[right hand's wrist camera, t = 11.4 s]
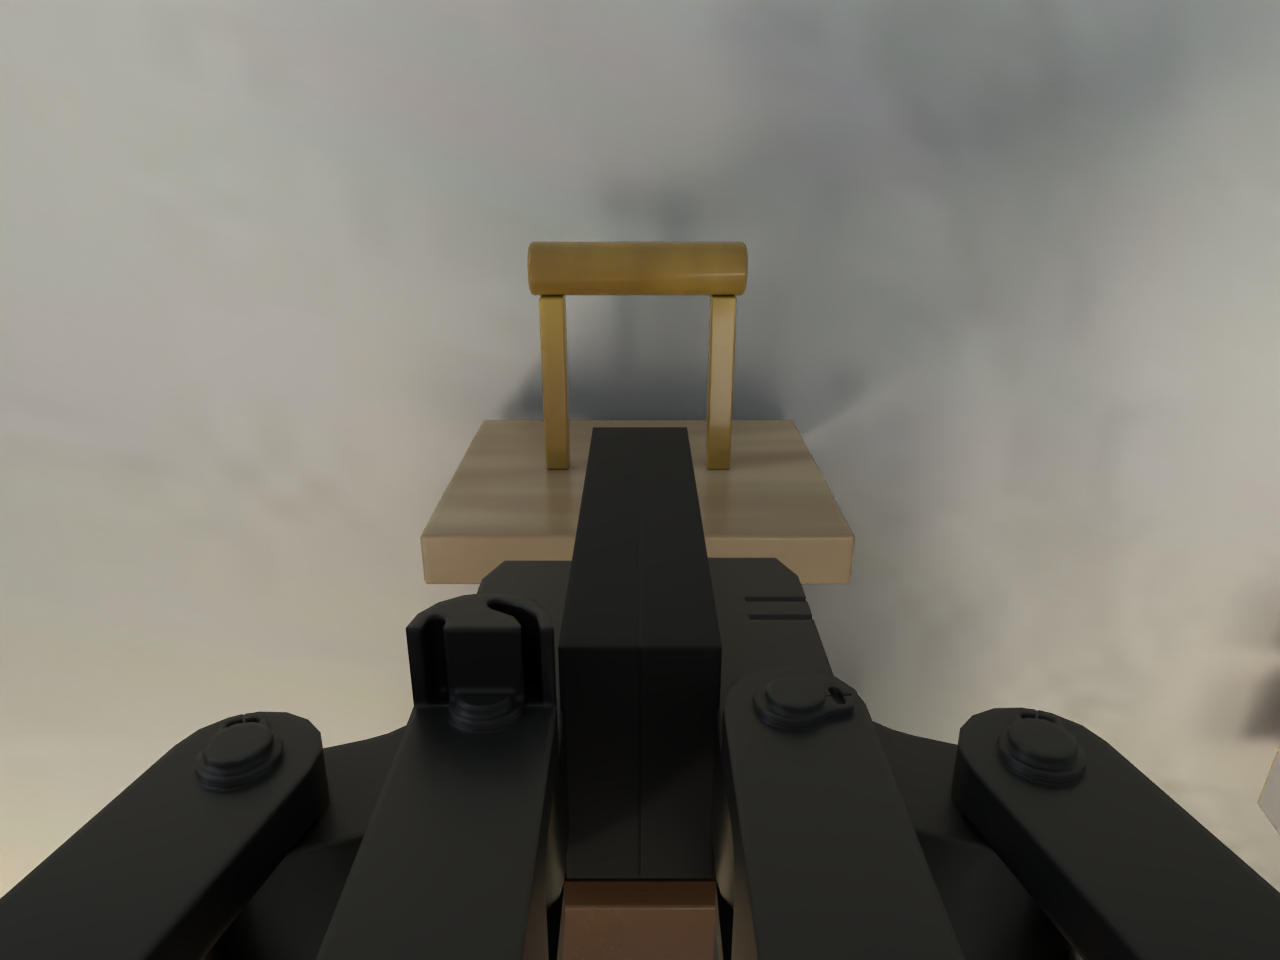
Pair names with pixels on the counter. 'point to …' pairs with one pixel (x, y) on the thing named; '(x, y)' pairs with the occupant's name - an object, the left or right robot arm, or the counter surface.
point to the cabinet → (639, 920)
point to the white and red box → (1272, 794)
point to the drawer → (558, 447)
